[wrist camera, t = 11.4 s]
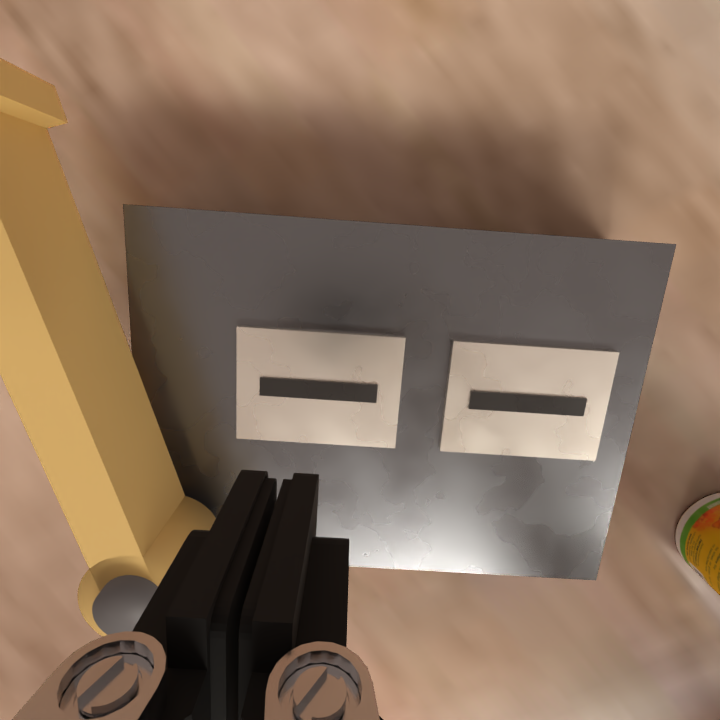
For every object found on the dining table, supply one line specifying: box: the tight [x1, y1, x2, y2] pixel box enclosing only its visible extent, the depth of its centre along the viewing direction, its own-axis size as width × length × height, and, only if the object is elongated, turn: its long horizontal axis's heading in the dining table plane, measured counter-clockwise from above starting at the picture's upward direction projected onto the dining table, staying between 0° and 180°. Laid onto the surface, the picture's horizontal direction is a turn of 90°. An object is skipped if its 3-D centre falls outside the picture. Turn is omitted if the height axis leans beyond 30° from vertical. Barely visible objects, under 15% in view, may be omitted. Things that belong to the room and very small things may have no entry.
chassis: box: [123, 204, 676, 580], centre depth 22 cm, size 22×16×5 cm
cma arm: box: [0, 58, 216, 636], centre depth 16 cm, size 20×4×5 cm, turn 13°
